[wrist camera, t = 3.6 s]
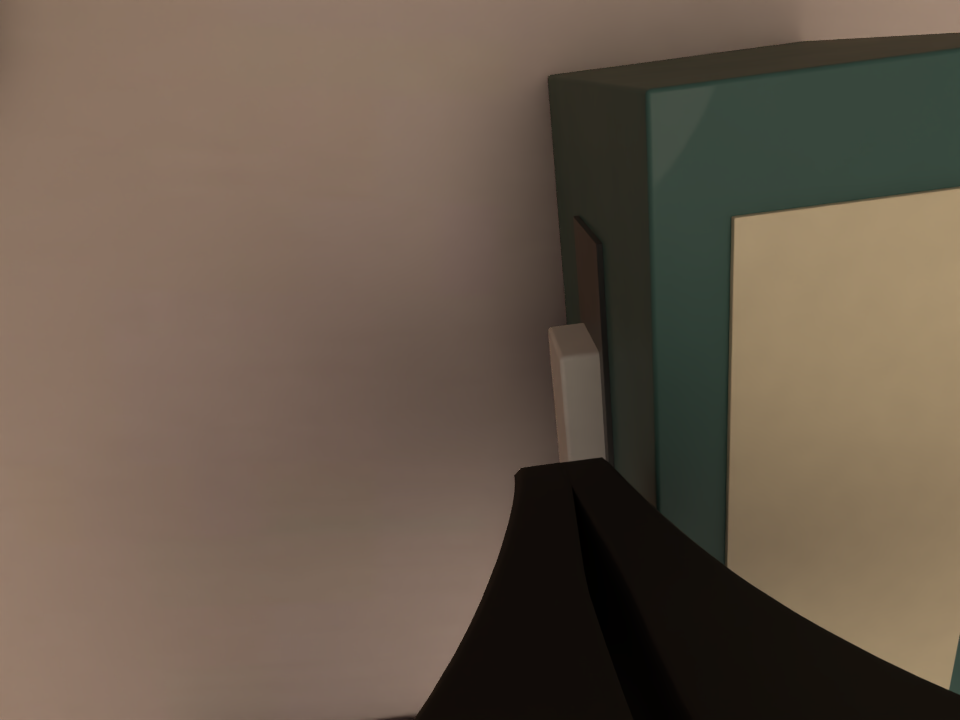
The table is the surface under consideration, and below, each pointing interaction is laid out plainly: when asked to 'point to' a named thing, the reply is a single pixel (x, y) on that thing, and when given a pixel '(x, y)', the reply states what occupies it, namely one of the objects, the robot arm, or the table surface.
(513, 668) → the robot arm
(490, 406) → the table surface
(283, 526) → the table surface
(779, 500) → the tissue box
